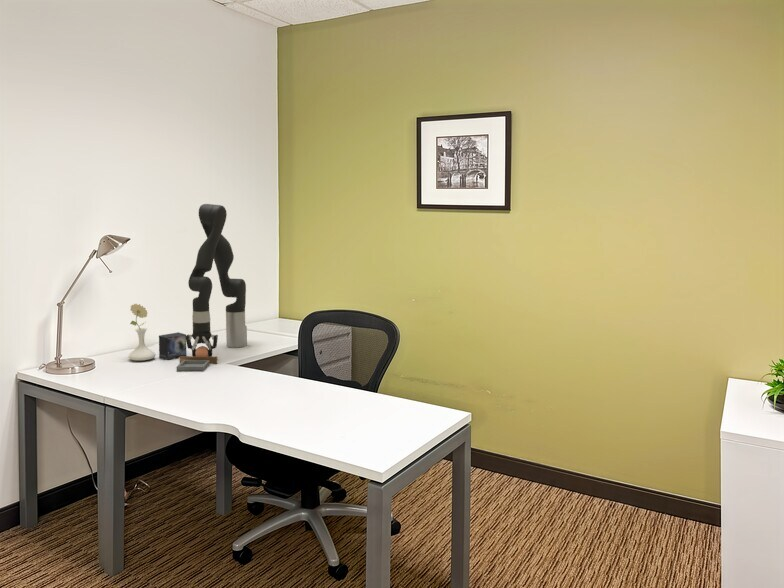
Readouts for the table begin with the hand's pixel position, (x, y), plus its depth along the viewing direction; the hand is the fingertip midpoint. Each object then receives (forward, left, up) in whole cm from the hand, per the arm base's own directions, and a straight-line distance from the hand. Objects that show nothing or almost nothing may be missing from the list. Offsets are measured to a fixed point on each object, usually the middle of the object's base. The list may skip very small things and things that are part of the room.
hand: (202, 357), depth 286 cm
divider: (+6, +4, -1) cm, 7 cm away
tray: (+13, +8, -1) cm, 15 cm away
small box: (+3, -15, -1) cm, 15 cm away
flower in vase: (+13, -24, -1) cm, 27 cm away
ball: (0, 0, -1) cm, 1 cm away
